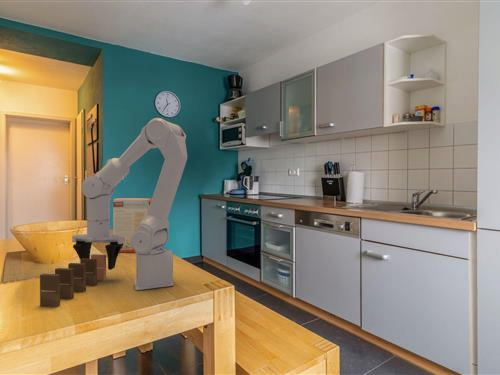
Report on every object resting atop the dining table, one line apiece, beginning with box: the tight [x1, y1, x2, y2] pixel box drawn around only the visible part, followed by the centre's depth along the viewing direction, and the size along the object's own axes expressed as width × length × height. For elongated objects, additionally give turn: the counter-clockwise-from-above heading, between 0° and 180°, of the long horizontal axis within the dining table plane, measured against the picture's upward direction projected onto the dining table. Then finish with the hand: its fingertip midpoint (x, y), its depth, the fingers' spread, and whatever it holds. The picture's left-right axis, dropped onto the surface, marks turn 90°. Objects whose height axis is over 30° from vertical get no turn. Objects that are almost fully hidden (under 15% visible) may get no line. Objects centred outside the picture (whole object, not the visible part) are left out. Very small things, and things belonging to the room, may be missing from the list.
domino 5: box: [90, 254, 107, 282], centre depth 85 cm, size 1×4×7 cm, turn 84°
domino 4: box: [79, 258, 98, 287], centre depth 81 cm, size 1×4×7 cm, turn 84°
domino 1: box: [39, 273, 61, 308], centre depth 68 cm, size 1×4×7 cm, turn 84°
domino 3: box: [67, 262, 87, 293], centre depth 77 cm, size 1×4×7 cm, turn 84°
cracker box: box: [112, 197, 152, 254], centre depth 119 cm, size 14×6×21 cm, turn 84°
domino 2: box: [54, 267, 75, 300], centre depth 72 cm, size 1×4×7 cm, turn 84°
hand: (98, 268), depth 85 cm, fingers open, 7 cm apart
